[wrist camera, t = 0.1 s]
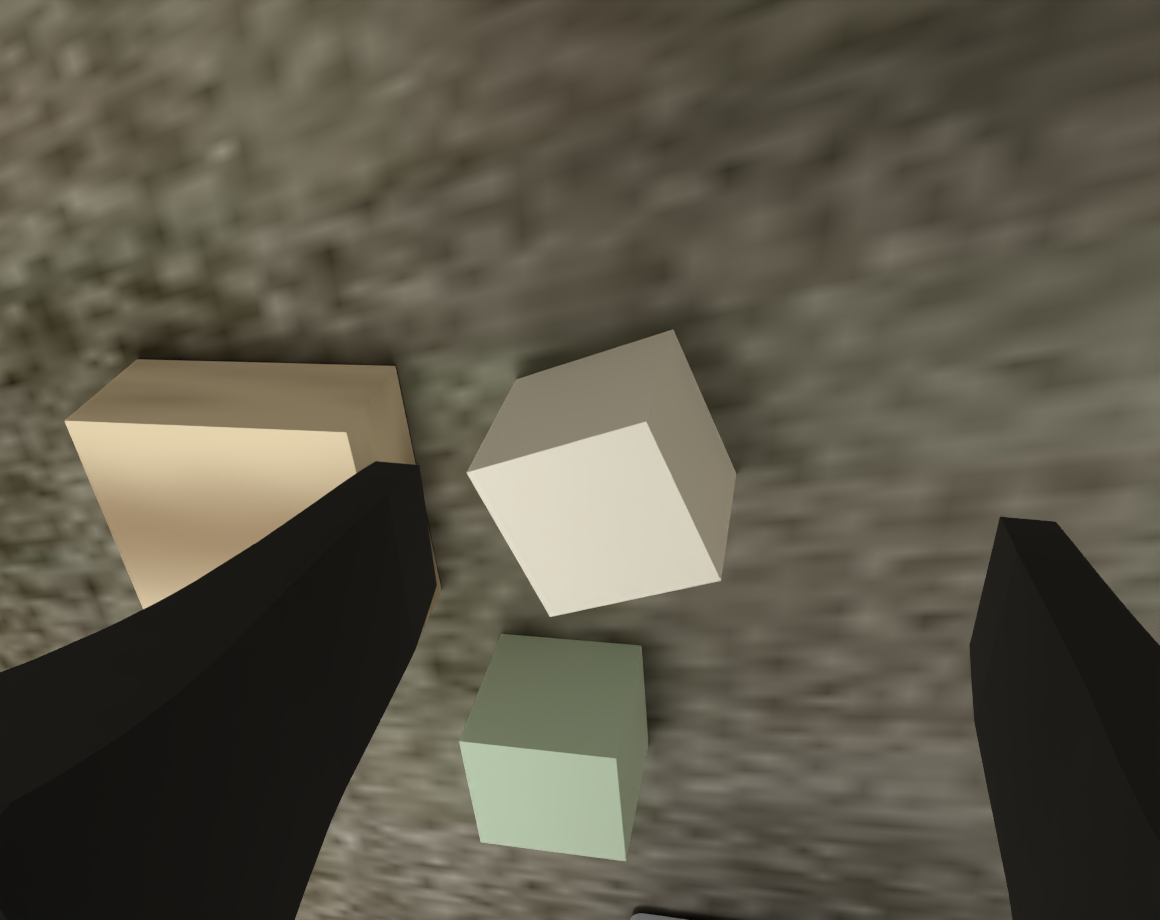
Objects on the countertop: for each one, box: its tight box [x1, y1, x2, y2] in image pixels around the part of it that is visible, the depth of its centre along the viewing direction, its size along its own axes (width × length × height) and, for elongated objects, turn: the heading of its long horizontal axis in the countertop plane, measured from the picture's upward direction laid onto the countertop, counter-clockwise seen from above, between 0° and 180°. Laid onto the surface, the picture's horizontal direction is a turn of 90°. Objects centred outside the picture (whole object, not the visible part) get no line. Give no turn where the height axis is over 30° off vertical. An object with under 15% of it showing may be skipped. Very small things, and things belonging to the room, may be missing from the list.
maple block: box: [65, 359, 442, 630], centre depth 26 cm, size 7×7×3 cm
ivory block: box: [467, 330, 736, 617], centre depth 23 cm, size 4×4×4 cm
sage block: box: [459, 634, 649, 861], centre depth 28 cm, size 4×4×4 cm
